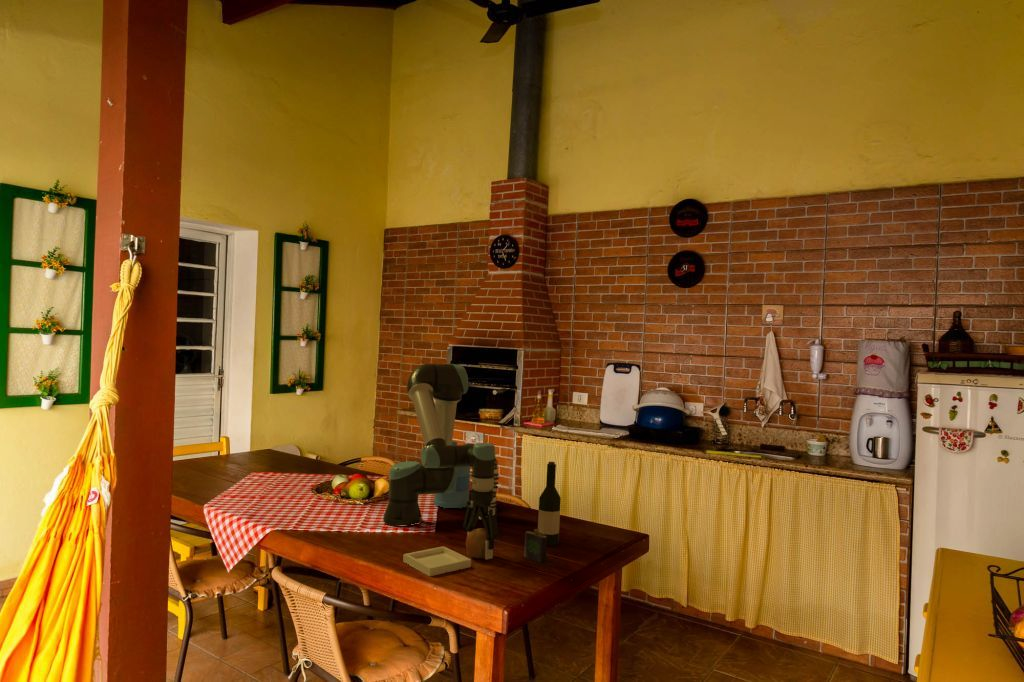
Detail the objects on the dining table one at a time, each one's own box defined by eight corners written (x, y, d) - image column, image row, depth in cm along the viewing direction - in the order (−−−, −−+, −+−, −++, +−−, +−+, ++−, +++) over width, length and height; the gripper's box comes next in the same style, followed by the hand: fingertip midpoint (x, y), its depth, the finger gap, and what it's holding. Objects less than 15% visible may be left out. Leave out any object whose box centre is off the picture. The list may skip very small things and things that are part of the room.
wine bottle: (562, 542, 257) (566, 462, 257) (552, 547, 250) (556, 465, 250) (543, 537, 261) (547, 459, 261) (532, 543, 254) (536, 462, 254)
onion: (485, 551, 242) (486, 523, 242) (498, 560, 233) (499, 531, 233) (460, 554, 237) (461, 525, 237) (472, 563, 228) (473, 534, 228)
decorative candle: (472, 519, 282) (475, 458, 282) (477, 513, 292) (480, 454, 291) (494, 521, 281) (497, 460, 281) (499, 515, 290) (501, 456, 290)
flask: (522, 557, 238) (524, 526, 237) (527, 555, 240) (529, 525, 240) (542, 564, 231) (544, 532, 231) (548, 562, 234) (550, 531, 233)
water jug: (432, 500, 310) (435, 438, 310) (466, 500, 313) (469, 439, 313) (434, 509, 295) (437, 444, 295) (471, 509, 298) (473, 445, 297)
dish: (403, 561, 227) (403, 554, 227) (443, 553, 238) (443, 546, 238) (429, 576, 215) (429, 568, 215) (470, 566, 225) (471, 559, 225)
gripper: (454, 483, 241) (451, 547, 241) (493, 497, 224) (490, 565, 224) (471, 481, 246) (469, 543, 246) (511, 494, 229) (508, 561, 229)
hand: (479, 554), depth 235 cm, fingers closed on onion, 10 cm apart
